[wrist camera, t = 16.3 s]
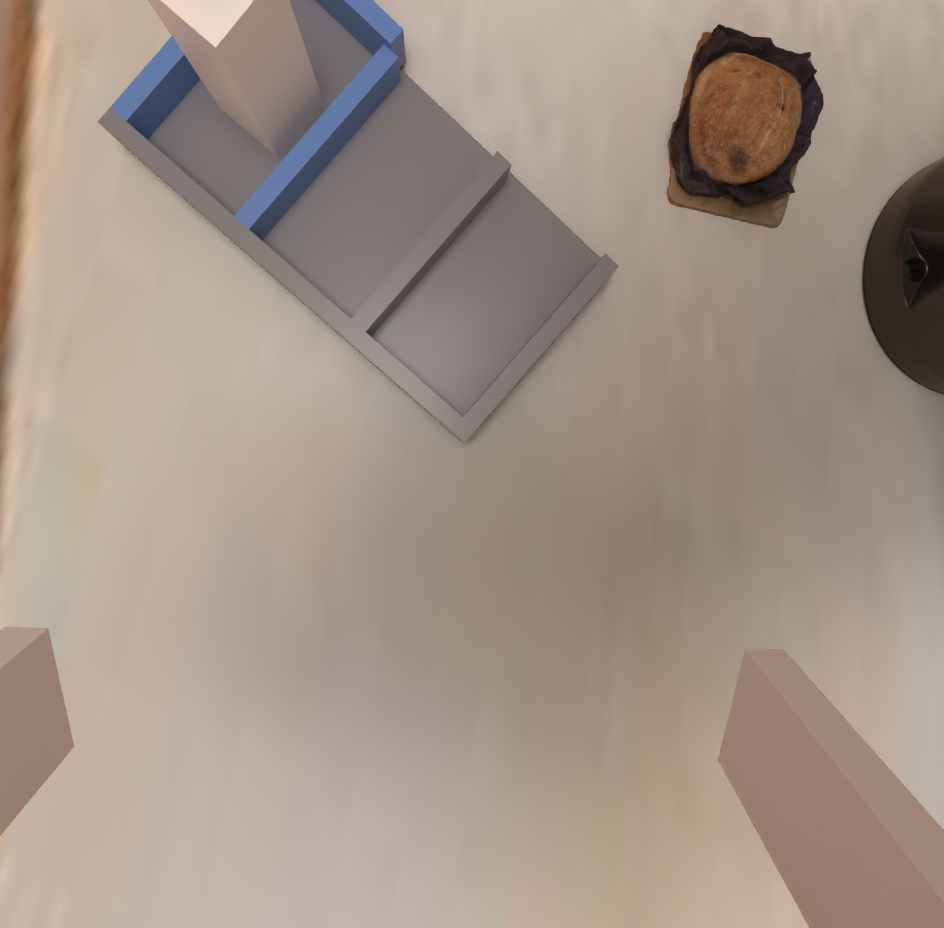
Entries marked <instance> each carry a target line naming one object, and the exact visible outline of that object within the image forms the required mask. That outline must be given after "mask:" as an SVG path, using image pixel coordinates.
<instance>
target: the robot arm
mask: <svg viewBox="0 0 944 928" xmlns="http://www.w3.org/2000/svg"><path fill="white" fill-rule="evenodd" d="M864 281H865V296H866V303H867V308H868V312H869V316H870V319H871V322H872V325H873V327H874V330H875V332H876V334H877V336H878V338H879V340H880V342H881V344H882V346H883V347H884V349H885V350H886V352H887V353H888V355H889V356H890V357H891V358H892V360H893V361H894V362H895V363H896V364H897V365H898V366H899V367H900V368H901V369H902V370H903V371H904V372H905V373H906V374H908V375H909V376H910V377H912V378H913V379H914V380H916V381H917V382H919V383H920V384H922V385H924V386H926V387H928V388H930V389H932V390H935V391H937V392H940V393H943V394H944V157H943V158H942V159H940V160H938V161H936V162H934V163H932V164H930V165H929V166H927V167H925V168H924V169H922V170H921V171H919V172H918V173H916V174H915V175H914V176H913V177H911V178H910V179H909V180H908V181H907V182H906V183H905V184H904V185H903V186H902V187H901V188H900V189H899V190H898V191H897V192H896V193H895V195H894V196H893V197H892V198H891V200H890V201H889V203H888V204H887V205H886V207H885V209H884V210H883V212H882V214H881V216H880V218H879V220H878V222H877V224H876V226H875V228H874V231H873V234H872V237H871V240H870V243H869V247H868V251H867V256H866V263H865V276H864ZM73 747H74V744H73V739H72V735H71V730H70V725H69V721H68V716H67V712H66V707H65V703H64V698H63V694H62V689H61V685H60V680H59V675H58V671H57V666H56V662H55V657H54V653H53V648H52V644H51V639H50V634H49V630H48V628H20V627H5V628H3V629H2V630H1V631H0V835H1V834H2V833H3V832H4V831H5V829H6V828H7V827H8V826H9V825H10V823H11V822H12V821H13V820H14V818H15V817H16V816H17V815H18V814H19V812H20V811H21V810H22V809H23V808H24V806H25V805H26V804H27V803H28V802H29V800H30V799H31V798H32V797H33V795H34V794H35V793H36V792H37V791H38V789H39V788H40V787H41V786H42V785H43V783H44V782H45V781H46V780H47V779H48V777H49V776H50V775H51V774H52V772H53V771H54V770H55V769H56V768H57V766H58V765H59V764H60V763H61V762H62V760H63V759H64V758H65V757H66V756H67V754H68V753H69V752H70V751H71V749H72V748H73ZM718 761H719V762H720V764H721V766H722V768H723V770H724V772H725V773H726V775H727V777H728V779H729V781H730V783H731V784H732V786H733V788H734V790H735V792H736V794H737V795H738V797H739V799H740V801H741V803H742V805H743V807H744V808H745V810H746V812H747V814H748V816H749V818H750V819H751V821H752V823H753V825H754V827H755V829H756V830H757V832H758V834H759V836H760V838H761V840H762V841H763V843H764V845H765V847H766V849H767V851H768V852H769V854H770V856H771V858H772V860H773V862H774V863H775V865H776V867H777V869H778V871H779V873H780V875H781V876H782V878H783V880H784V882H785V884H786V886H787V887H788V889H789V891H790V893H791V895H792V897H793V898H794V900H795V902H796V904H797V906H798V908H799V909H800V911H801V913H802V915H803V917H804V919H805V920H806V922H807V924H808V926H809V928H944V830H943V829H942V828H941V827H940V825H939V824H938V823H937V822H936V821H935V820H934V819H933V818H932V816H931V815H930V814H929V813H928V812H927V811H926V810H925V808H924V807H923V806H922V805H921V804H920V803H919V802H918V801H917V799H916V798H915V797H914V796H913V795H912V794H911V793H910V792H909V790H908V789H907V788H906V787H905V786H904V785H903V784H902V783H901V781H900V780H899V779H898V778H897V777H896V776H895V775H894V773H893V772H892V771H891V770H890V769H889V768H888V767H887V766H886V764H885V763H884V762H883V761H882V760H881V759H880V758H879V757H878V755H877V754H876V753H875V752H874V751H873V750H872V749H871V748H870V746H869V745H868V744H867V743H866V742H865V741H864V740H863V738H862V737H861V736H860V735H859V734H858V733H857V732H856V731H855V729H854V728H853V727H852V726H851V725H850V724H849V723H848V722H847V720H846V719H845V718H844V717H843V716H842V715H841V714H840V712H839V711H838V710H837V709H836V708H835V707H834V706H833V705H832V703H831V702H830V701H829V700H828V699H827V698H826V697H825V696H824V694H823V693H822V692H821V691H820V690H819V689H818V688H817V687H816V685H815V684H814V683H813V682H812V681H811V680H810V679H809V677H808V676H807V675H806V674H805V673H804V672H803V671H802V670H801V668H800V667H799V666H798V665H797V664H796V663H795V662H794V661H793V659H792V658H791V657H790V656H789V655H788V654H787V653H786V652H785V650H771V649H745V653H744V657H743V661H742V665H741V669H740V673H739V677H738V681H737V685H736V689H735V693H734V697H733V701H732V706H731V710H730V714H729V718H728V722H727V726H726V730H725V734H724V738H723V742H722V746H721V750H720V754H719V758H718Z"/></svg>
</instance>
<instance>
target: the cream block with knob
mask: <svg viewBox="0 0 944 928" xmlns="http://www.w3.org/2000/svg"><path fill="white" fill-rule="evenodd" d="M148 1H149V2H150V4H151V5H152V7H153V8H154V10H155V11H156V13H157V14H158V16H159V17H160V19H161V20H162V22H163V23H164V25H165V26H166V28H167V29H168V31H169V32H170V34H171V35H172V37H173V38H174V40H175V41H176V43H177V44H178V46H179V47H180V49H181V50H182V52H183V53H184V55H185V56H186V58H187V59H188V61H189V62H190V64H191V65H192V67H193V68H194V70H195V71H196V73H197V74H198V76H199V77H200V79H201V80H202V82H203V83H204V85H205V87H206V88H207V90H208V91H209V93H210V94H211V96H212V97H213V99H214V100H215V102H216V103H217V105H218V106H219V108H220V109H221V110H222V111H223V112H224V113H226V114H227V115H228V116H229V117H230V118H231V119H233V120H234V121H235V122H236V123H237V124H239V125H240V126H241V127H242V128H243V129H244V130H246V131H247V132H248V133H249V134H250V135H252V136H253V137H254V138H255V139H256V140H257V141H259V142H260V143H261V144H262V145H263V146H264V147H266V148H267V149H268V150H269V151H270V152H272V153H273V154H274V155H275V156H276V157H277V158H280V157H281V155H282V154H283V153H284V152H285V150H286V149H287V148H288V147H289V146H290V144H291V143H292V142H293V141H294V139H295V138H296V137H297V136H298V134H299V133H300V132H301V131H302V130H303V128H304V127H305V126H306V125H307V123H308V122H309V121H310V120H311V118H312V117H313V116H314V115H315V114H316V112H317V111H318V110H319V109H320V107H321V106H322V105H323V104H324V102H323V99H322V96H321V93H320V90H319V87H318V84H317V81H316V78H315V75H314V72H313V69H312V66H311V63H310V60H309V57H308V54H307V51H306V48H305V45H304V42H303V39H302V36H301V33H300V30H299V27H298V24H297V21H296V18H295V15H294V12H293V9H292V6H291V3H290V0H148Z"/></svg>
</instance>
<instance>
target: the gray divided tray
mask: <svg viewBox="0 0 944 928" xmlns="http://www.w3.org/2000/svg"><path fill="white" fill-rule="evenodd" d="M290 3H291V6H292V9H293V12H294V15H295V18H296V21H297V24H298V27H299V30H300V33H301V36H302V39H303V42H304V45H305V48H306V51H307V54H308V57H309V60H310V63H311V66H312V69H313V72H314V75H315V78H316V81H317V84H318V87H319V90H320V93H321V96H322V99H323V102H324V104H323V105H322V106H321V107H320V109H319V110H318V111H317V112H316V114H315V115H314V116H313V117H312V118H311V120H310V121H309V122H308V123H307V125H306V126H305V127H304V128H303V130H302V131H301V132H300V133H299V134H298V136H297V137H296V138H295V139H294V141H293V142H292V143H291V144H290V146H289V147H288V148H287V149H286V150H285V152H284V153H283V154H282V155H281V157H280V158H277V157H276V156H275V155H274V154H273V153H272V152H270V151H269V150H268V149H267V148H266V147H264V146H263V145H262V144H261V143H260V142H259V141H257V140H256V139H255V138H254V137H253V136H252V135H250V134H249V133H248V132H247V131H246V130H244V129H243V128H242V127H241V126H240V125H239V124H237V123H236V122H235V121H234V120H233V119H231V118H230V117H229V116H228V115H227V114H226V113H224V112H223V111H222V110H221V109H220V108H219V106H218V105H217V103H216V102H215V100H214V99H213V97H212V96H211V94H210V93H209V91H208V90H207V88H206V87H205V85H204V83H203V82H202V80H201V79H200V77H199V76H198V74H197V73H196V71H195V70H194V68H193V67H192V65H191V64H190V62H189V61H188V59H187V58H186V56H185V55H184V53H183V52H182V50H181V49H180V47H179V46H178V44H177V43H176V41H175V40H174V38H173V37H171V38H170V39H169V40H168V41H167V43H166V44H165V45H164V46H163V47H162V48H161V50H160V51H159V52H158V53H157V54H156V55H155V56H154V58H153V59H152V60H151V61H150V62H149V63H148V64H147V66H146V67H145V68H144V69H143V70H142V71H141V73H140V74H139V75H138V76H137V77H136V78H135V79H134V81H133V82H132V83H131V84H130V85H129V86H128V87H127V89H126V90H125V91H124V92H123V93H122V94H121V95H120V97H119V98H118V99H117V100H116V101H115V102H114V104H113V105H112V106H111V107H110V108H109V109H108V110H107V112H106V113H105V114H104V115H103V116H102V117H101V118H100V120H99V121H98V123H99V124H100V125H101V126H103V127H104V128H105V129H106V130H107V131H108V132H109V133H110V134H111V135H112V136H113V137H115V138H116V139H117V140H118V141H119V142H120V143H121V144H122V145H123V146H124V147H126V148H127V149H128V150H129V151H130V152H131V153H132V154H134V155H135V156H136V157H137V158H138V159H139V160H140V161H142V162H143V163H144V164H145V165H146V166H147V167H148V168H150V169H151V170H152V171H153V172H154V173H155V174H156V175H158V176H159V177H160V178H161V179H162V180H163V181H164V182H166V183H167V184H168V185H169V186H170V187H171V188H172V189H174V190H175V191H176V192H177V193H178V194H179V195H180V196H182V197H183V198H184V199H185V200H186V201H187V202H188V203H190V204H191V205H192V206H193V207H194V208H195V209H196V210H198V211H199V212H200V213H201V214H202V215H203V216H204V217H206V218H207V219H208V220H209V221H210V222H211V223H212V224H214V225H215V226H216V227H217V228H218V229H219V230H220V231H222V232H223V233H224V234H225V235H226V236H227V237H228V238H230V239H231V240H232V241H233V242H234V243H235V244H236V245H238V246H239V247H240V248H241V249H242V250H243V251H244V252H246V253H247V254H248V255H249V256H250V257H251V258H252V259H254V260H255V261H256V262H257V263H258V264H259V265H260V266H262V267H263V268H264V269H265V270H266V271H267V272H268V273H270V274H271V275H272V276H273V277H274V278H275V279H276V280H278V281H279V282H280V283H281V284H282V285H283V286H284V287H286V288H287V289H288V290H289V291H290V292H291V293H292V294H294V295H295V296H296V297H297V298H298V299H299V300H300V301H302V302H303V303H304V304H305V305H306V306H307V307H308V308H310V309H311V310H312V311H313V312H314V313H315V314H316V315H318V316H319V317H320V318H321V319H322V320H323V321H324V322H326V323H327V324H328V325H329V326H330V327H331V328H332V329H334V330H335V331H336V332H337V333H338V334H339V335H340V336H342V337H343V338H344V339H345V340H346V341H347V342H348V343H350V344H351V345H352V346H353V347H354V348H355V349H356V350H358V351H359V352H360V353H361V354H362V355H363V356H364V357H366V358H367V359H368V360H369V361H370V362H371V363H372V364H374V365H375V366H376V367H377V368H378V369H379V370H380V371H382V372H383V373H384V374H385V375H386V376H387V377H388V378H390V379H391V380H392V381H393V382H394V383H395V384H396V385H398V386H399V387H400V388H401V389H402V390H403V391H404V392H406V393H407V394H408V395H409V396H410V397H411V398H412V399H414V400H415V401H416V402H417V403H418V404H419V405H420V406H422V407H423V408H424V409H425V410H426V411H427V412H428V413H430V414H431V415H432V416H433V417H434V418H435V419H436V420H438V421H439V422H440V423H441V424H442V425H443V426H444V427H446V428H447V429H448V430H449V431H450V432H451V433H452V434H454V435H455V436H456V437H457V438H458V439H459V440H460V441H462V442H463V443H465V442H466V441H467V440H468V439H469V437H470V436H471V435H472V434H473V433H474V432H475V430H476V429H477V428H478V427H479V426H480V425H481V424H482V422H483V421H484V420H485V419H486V418H487V417H488V416H489V414H490V413H491V412H492V411H493V410H494V409H495V408H496V406H497V405H498V404H499V403H500V402H501V401H502V399H503V398H504V397H505V396H506V395H507V394H508V393H509V391H510V390H511V389H512V388H513V387H514V386H515V385H516V383H517V382H518V381H519V380H520V379H521V378H522V377H523V375H524V374H525V373H526V372H527V371H528V370H529V369H530V367H531V366H532V365H533V364H534V363H535V362H536V360H537V359H538V358H539V357H540V356H541V355H542V354H543V352H544V351H545V350H546V349H547V348H548V347H549V346H550V344H551V343H552V342H553V341H554V340H555V339H556V338H557V336H558V335H559V334H560V333H561V332H562V331H563V330H564V328H565V327H566V326H567V325H568V324H569V323H570V321H571V320H572V319H573V318H574V317H575V316H576V315H577V313H578V312H579V311H580V310H581V309H582V308H583V307H584V305H585V304H586V303H587V302H588V301H589V300H590V299H591V297H592V296H593V295H594V294H595V293H596V292H597V291H598V289H599V288H600V287H601V286H602V285H603V284H604V282H605V281H606V280H607V279H608V278H609V277H610V276H611V274H612V273H613V272H614V271H615V270H616V269H617V268H618V265H617V264H616V263H615V262H614V261H613V260H612V259H611V258H610V257H608V256H607V255H606V254H605V255H604V256H603V257H602V258H600V257H599V256H598V255H597V254H596V253H595V252H594V251H592V250H591V249H590V248H589V247H588V246H587V245H586V244H585V243H584V242H583V241H582V240H581V239H580V238H579V237H578V236H577V235H576V234H575V233H573V232H572V231H571V230H570V229H569V228H568V227H567V226H566V225H565V224H564V223H563V222H562V221H561V220H560V219H559V218H558V217H557V216H555V215H554V214H553V213H552V212H551V211H550V210H549V209H548V208H547V207H546V206H545V205H544V204H543V203H542V202H541V201H540V200H539V199H537V198H536V197H535V196H534V195H533V194H532V193H531V192H530V191H529V190H528V189H527V188H526V187H525V186H524V185H523V184H522V183H521V182H520V181H518V180H517V179H516V178H515V177H514V176H513V175H512V174H511V173H510V172H509V171H510V167H511V164H510V163H509V162H508V161H507V160H506V159H505V158H504V157H503V156H502V155H501V154H500V153H499V152H498V151H497V153H496V154H495V155H494V156H492V155H491V154H490V153H489V152H488V151H487V150H486V149H485V148H484V147H482V146H481V145H480V144H479V143H478V142H477V141H476V140H475V139H474V138H473V137H472V136H471V135H470V134H469V133H468V132H467V131H466V130H465V129H463V128H462V127H461V126H460V125H459V124H458V123H457V122H456V121H455V120H454V119H453V118H452V117H451V116H450V115H449V114H448V113H447V112H445V111H444V110H443V109H442V108H441V107H440V106H439V105H438V104H437V103H436V102H435V101H434V100H433V99H432V98H431V97H430V96H429V95H427V94H426V93H425V92H424V91H423V90H422V89H421V88H420V87H419V86H418V85H417V84H416V83H415V82H414V81H413V80H412V79H411V78H410V77H408V76H407V75H406V74H405V73H404V72H403V71H402V70H401V69H400V67H401V66H402V65H403V64H404V63H405V62H406V61H405V48H404V34H403V29H402V28H401V27H400V26H399V25H398V24H397V23H396V22H395V21H394V20H393V19H392V18H391V17H390V16H389V15H388V14H386V13H385V12H384V11H383V10H382V9H381V8H380V7H379V6H378V5H377V4H376V3H375V2H374V1H373V0H290Z"/></svg>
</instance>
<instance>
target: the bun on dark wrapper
mask: <svg viewBox="0 0 944 928" xmlns="http://www.w3.org/2000/svg"><path fill="white" fill-rule="evenodd" d="M810 56H811V52H807V53H802V54H798V53H794V52H792V51H787V50H784V49H781V48H778V47H776V46H775V45H774V44H773V43H772V40H771V38H764V37H751V36H749V35H747V34H745V33H743V32H741V31H738V30H734V29H732V28H728V27H726V28H725V27H724V26H722V25H720V24H719V25H717V27H716V28H715V29H714V30H713V32H712V33H709V32H705V33H703V34H702V38H701V39H700V40H699V42H698V44H697V47H696V51H695V53H694V55H693V58H692V59H693V60H692V62H691V66H690V69H689V72H688V76H687V80H686V83H685V85H684V90H683V98H682V101H681V105H680V110H679V113H678V118H677V120H676V121H675V122H674V123H673V128H672V135H671V137H670V140H669V149H670V174H671V175H670V179H669V186H668V189H667V196H668V200H669V202H670V203H671V204H673V205H675V206H679V207H686V208H690V209H694V210H698V211H702V212H706V213H710V214H714V215H718V216H723V217H728V218H731V219H735V220H740V221H743V222H748V223H752V224H756V225H761V226H765V227H769V228H775V227H777V226H778V225H780V223H781V221H782V219H783V216H784V213H785V209H786V207H787V202H788V199H789V195H790V193H794V192H795V191H794V189H793V186H792V182H793V178H794V176H795V172H796V167H797V164H798V160H799V159H800V158H801V157H802V156H804V154H805V153H806V151H807V149H808V148H809V146H810V144H811V139H810V138H811V133H812V130H813V129H814V127H815V125H816V123H817V120H818V116H819V114H820V112H821V110H822V108H823V94H822V93H821V89H820V87H819V86H818V84H817V81H816V80H815V78H814V74H815V73H816V72H817V70H815V69H814V67H813V65H812V62H811V58H810Z"/></svg>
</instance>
